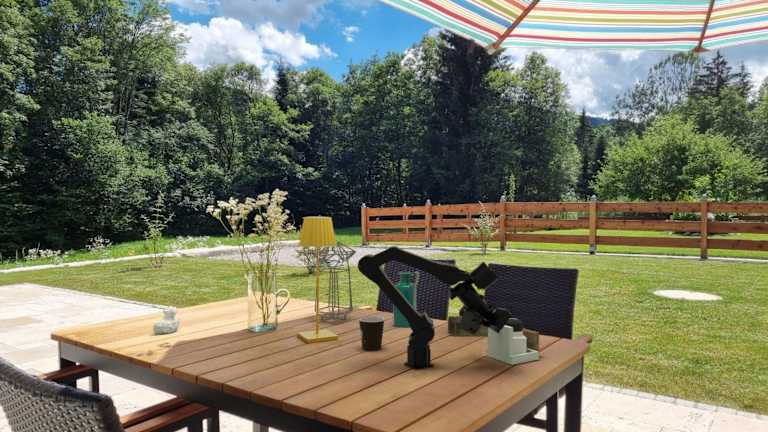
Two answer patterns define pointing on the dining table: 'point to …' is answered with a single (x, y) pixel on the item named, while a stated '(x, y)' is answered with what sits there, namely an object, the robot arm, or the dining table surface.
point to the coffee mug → (371, 333)
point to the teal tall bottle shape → (409, 294)
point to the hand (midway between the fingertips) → (498, 331)
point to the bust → (167, 322)
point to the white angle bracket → (507, 347)
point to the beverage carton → (455, 331)
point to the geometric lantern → (336, 279)
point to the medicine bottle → (518, 336)
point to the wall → (532, 339)
